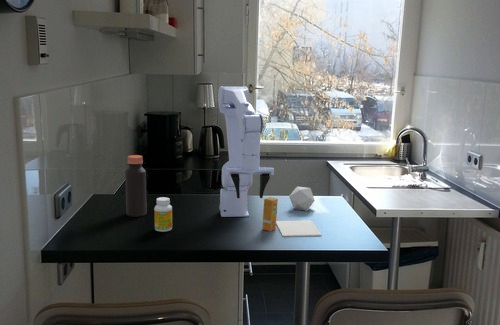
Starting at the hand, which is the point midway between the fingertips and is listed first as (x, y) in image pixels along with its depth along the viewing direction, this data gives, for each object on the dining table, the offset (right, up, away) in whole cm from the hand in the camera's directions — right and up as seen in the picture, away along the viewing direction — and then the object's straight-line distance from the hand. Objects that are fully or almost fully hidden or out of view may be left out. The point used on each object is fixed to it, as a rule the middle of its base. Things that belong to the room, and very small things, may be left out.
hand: (249, 197), depth 153 cm
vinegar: (-38, -7, +15) cm, 42 cm away
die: (+19, -6, +26) cm, 33 cm away
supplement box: (+6, -10, +3) cm, 12 cm away
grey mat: (+15, -10, +4) cm, 19 cm away
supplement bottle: (-27, -10, +1) cm, 29 cm away
